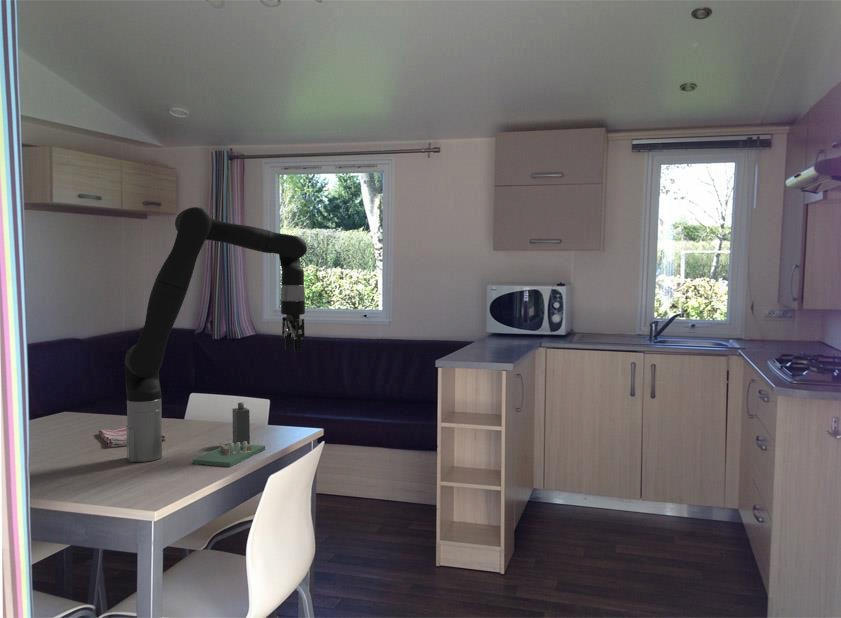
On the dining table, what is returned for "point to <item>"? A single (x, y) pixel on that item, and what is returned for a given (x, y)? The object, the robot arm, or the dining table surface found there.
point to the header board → (229, 454)
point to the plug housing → (241, 424)
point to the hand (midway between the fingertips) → (293, 350)
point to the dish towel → (117, 437)
